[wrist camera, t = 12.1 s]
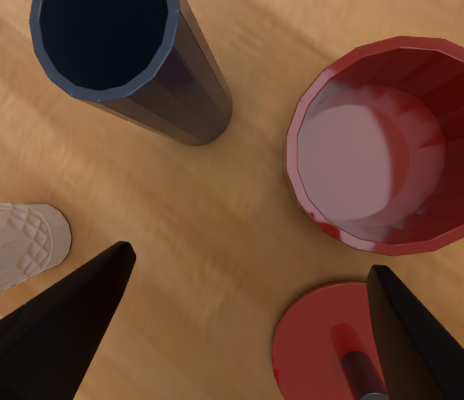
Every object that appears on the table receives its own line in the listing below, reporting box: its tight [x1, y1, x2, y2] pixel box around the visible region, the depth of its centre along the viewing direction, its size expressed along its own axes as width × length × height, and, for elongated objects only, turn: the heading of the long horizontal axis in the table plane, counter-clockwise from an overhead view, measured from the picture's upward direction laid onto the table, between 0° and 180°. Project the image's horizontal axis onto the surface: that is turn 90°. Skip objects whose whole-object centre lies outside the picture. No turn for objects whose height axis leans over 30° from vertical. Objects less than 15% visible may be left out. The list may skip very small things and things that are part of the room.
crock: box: [29, 0, 232, 146], centre depth 16 cm, size 7×7×12 cm
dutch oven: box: [283, 36, 464, 256], centre depth 17 cm, size 12×13×6 cm
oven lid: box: [272, 281, 389, 400], centre depth 18 cm, size 13×13×5 cm
